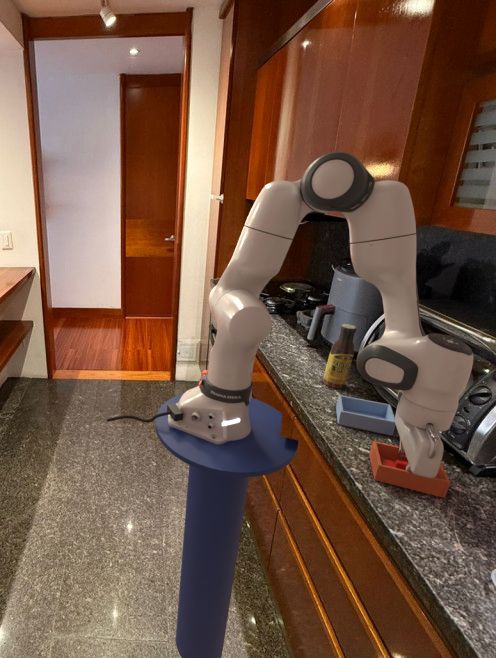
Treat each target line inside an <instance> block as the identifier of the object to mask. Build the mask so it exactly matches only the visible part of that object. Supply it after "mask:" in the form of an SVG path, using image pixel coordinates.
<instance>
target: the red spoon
mask: <svg viewBox="0 0 496 658" xmlns="http://www.w3.org/2000/svg"><path fill="white" fill-rule="evenodd" d="M408 464H409V463H408V462H404V461H400V460H396V462H393V461H391V460H383V461H382V465H386V466H390V467H394V468H398V469H403V470H404V469H405V466H406V465H407V466H408Z"/></svg>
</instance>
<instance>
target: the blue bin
mask: <svg viewBox="0 0 496 658" xmlns="http://www.w3.org/2000/svg"><path fill="white" fill-rule="evenodd" d="M335 405H336V406H335V411H336V420H337V425H340V426H345V427H350V428H354V429H360V430H364V431H368V432H373V433H378V434H383V435H387V436H392V437H393V435H394V432H395V428H396V424H395V414H394V411H393V408H392V405H391V404H389V403H383V402H378V401H373V400H369V399H362V398H357V397H353V396H348V395H347V396H346V395H342V394H338V397H337V401H336V404H335Z"/></svg>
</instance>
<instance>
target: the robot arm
mask: <svg viewBox="0 0 496 658" xmlns="http://www.w3.org/2000/svg"><path fill="white" fill-rule="evenodd" d="M414 208H415V207H414V205H413V200H412V196H411V192H410V189H409V188H408V186H407V185H406V184H405V183H403V182H401V181H397V180H393V179H392V180H378V181H376V180H375V177H374V176H373V174H371V172H369V170H368V169H367V168H366V167H365V165H364V164H363V163H362V162H361V160H360V159H358V158H357V157H356V156H355V155H353V154H352V153H349V152H346V151H331V152H328V153H325V154H323V155H320V156H319V157H318V158H316V159H314V160H313V161H312V162H311V164H309V166H308V167H307V168H306V169H305V171H304V173H303V175H302V178H300V179H298V180H295V181H289V180H283V179H281V180H274V181H270V182H269V183H267V184H265V185H264V186H263V188H262V189H261V191H260V192H259V194H258V196H257V197H256V199H255V201H254V203H253V205H252V207H251V208H250V211H249V213H248V216H247V217H246V220H245V223H244V226H243V228H242V230H241V233H240V236H239V238H238V240H237V244H236V247H235V249H234V251H233V254H232V257H231V259H230V261H229V263H228V264H227V266H226V267H225V269H224V271H223V273H222V275H221V276H220V278H219V280H218V282H217V284H215V286H214V287H213V288H212V289H211V291H210V293H209V295H208V307H209V311H210V314H211V315H212V317H213V318H214V320H215V323H216V335H215V340H214V343H213V346H212V348H211V349H209V357H208V369H204V370H202V372H201V373H200V378H199V383H198V385H197V386H195V387H192V388H190V389H188V390H186V391H185V392H184V393H182V394H183V395H182V397H181V398H180V400H179V402H178V403H176V404H175V403H174V404H168V405H167V412H164V413H160V414H157V413H156V414H155V415H153V416H152V417H151V418H142V417H139V416H136V415H132V414H131V415H130V414H128V415H126V414H125V415H119V416H113V417H108V418H106V423H107V422H108V423H109V422H113V421H118V420H122V419H124V420H125V419H131V420H135V421H139V422H142V423H152V422H155V421H156V418H158V417H161V416H165V415H168V423H169V425H170V426H171V427H173V428H176V429H179V430H181V431H184V432H186V433H189V434H191V435H194V436H197V437H199V438H202V439H204V440H207V441H209V442H212V443H215V444H218V445H220V444H224V443H226V442H228V441H235V440H240V439H243V438H245V437H247V436H248V435H249V434H250V432H251V426H250V420H249V403H250V401H251V398H252V395H253V382H252V379H253V370H254V364H255V360H256V359H255V358H256V356H257V352H258V350H259V347H260V345H261V342H263V341H264V340H266V338H267V337H268V335H269V334H270V332H271V329H272V325H273V324H272V322H273V321H272V317H271V314H270V312H269V310H268V307H267V305H266V304H265V303H264V302H263V301H262V300H261V299H259V298H260V295H261V294H262V292H263V290H264V289H265V287H267V286H266V285H267V284H268V283H269V282H270V280H271V279H272V278H274V277H276V276H277V275H278V274H279V272H280V270H281V269H282V266H283V264H284V261H285V259H286V256H287V254H288V252H289V250H290V247H291V245H292V242H293V240H294V238H295V235H296V233H297V231H298V228H299V226H300V224H301V222H302V221H303V219H304V218H305V217H306V216H307V215H309V214H330V213H339V214H341V215H343V217H345V219H346V221H347V225H348V230H349V231H348V232H349V252H350V259H351V260H350V261H351V264H352V267H353V270H354V273H355V274H356V275H357V276H358V277H359V278H360V279H362V280H363V281H365V282H366V283H370V284H371V285H373V286H374V287H375V288H376V289H377V290H378V291H379V293H380V295H381V298H382V306H383V315H384V316H383V317H384V323H385V328H384V331H383V334H382V335H381V337H380V338H379V339H377V340H375V341H373V342H371V343H370V344H368V345H366V346H365V347H363V348H362V349H361V350H359V353H358V354H357V356H356V368H357V371H358V373H359V374H360V376H361V377H362V378H363V379H364V380H366V381H367V382H369V383H370V384H372V385H375V386H377V387H382V388H386V389H391V390H395V391H398V392H397V401H398V402H397V406H396V410H395V414H394V417H395V424H396V426H395V428H396V430H397V432H398V436H399V439H400V440H399V447H400V449H399V452H398V454H399V457H400V458H402V459H403V458H404V459H408V463H409V464H408V466H407V465H406V466H405V469H404V470H407V471H411V472H412V473H413V474H415V475H418V476H422V477H426V478H431V479H432V478H434V477H436V475H437V473H438V470H439V467H440V463H442V460H443V455H444V448H445V447H444V443H443V441H442V439H441V436H440V435H439V434H440V432H445V431H448V430H450V428H451V426H452V424H453V421H454V418H455V416H456V413H457V411H458V408H459V398H460V396H461V394H462V393H463V392H464V391H465V390H466V387H467V385H468V382H469V379H470V376H471V373H472V369H473V365H474V352H473V350H472V349H471V347H470V346H469V345H467V344H466V343H465V342H464V341H462V340H460V339H458V338H456V337H453V336H451V335H448V334H442V333H428V334H426V332H425V331H424V328H423V326H422V322H421V311H420V302H419V294H418V293H419V291H418V283H417V222H416V216H415V209H414Z"/></svg>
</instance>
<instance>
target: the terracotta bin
mask: <svg viewBox="0 0 496 658" xmlns="http://www.w3.org/2000/svg"><path fill="white" fill-rule="evenodd" d="M399 449H400V445H399V446H398V445H394V444H389V443H384V442H380V441H375V440H373V441H372V444H371V447H370V451H369V455H368V456H369V460H370V464H371V465H370V466H371V470H372V475H373V479H374V481H376V482H382V483H385V484H389V485H393V486H397V487H401V488H405V489H408V490H413V491H416V492H420V493H423V494H427V495H433V496H435V497H439V498H443V499H445V498H446V495H447V493H448V490H449V489H450V486H451V480H450V478H449V476H448V474H447V472H446V469H445V467H444V466H443V462H441V463H440V467H439V470H438V473H437V475H436V477H434V478H432V479H431V478H426V477H422V476H418V475H415V474H413V473H412V472H411V471H407V470H403V469H398V468H394V467H390V466H386V465H382V461H383V460H391V461H393V462H396V460H400V461H404V462H408V459H404V458H403V459H402V458H400V457H399V454H398V452H399Z"/></svg>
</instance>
